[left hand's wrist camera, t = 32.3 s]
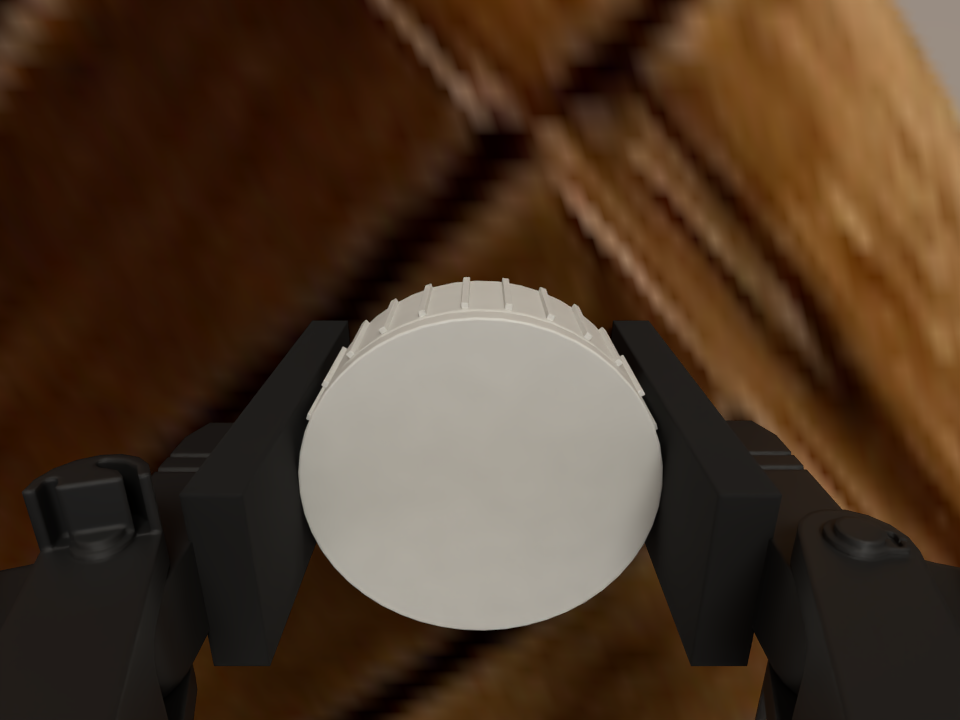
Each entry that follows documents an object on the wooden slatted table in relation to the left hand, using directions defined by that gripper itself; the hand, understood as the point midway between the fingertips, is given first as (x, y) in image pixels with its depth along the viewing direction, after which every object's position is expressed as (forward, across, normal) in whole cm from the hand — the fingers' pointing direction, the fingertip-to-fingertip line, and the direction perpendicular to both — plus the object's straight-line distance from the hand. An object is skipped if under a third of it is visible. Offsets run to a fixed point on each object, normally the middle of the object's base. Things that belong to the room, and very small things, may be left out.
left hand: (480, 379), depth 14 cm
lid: (-4, 0, 0) cm, 4 cm away
